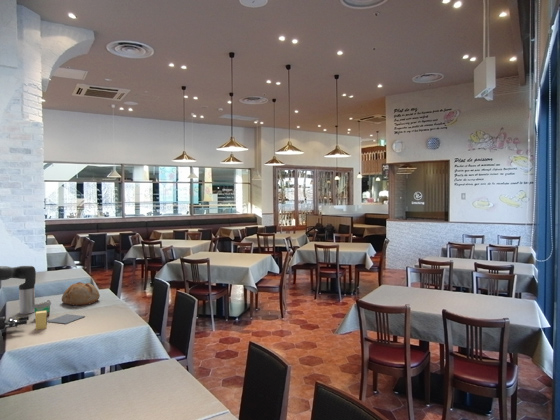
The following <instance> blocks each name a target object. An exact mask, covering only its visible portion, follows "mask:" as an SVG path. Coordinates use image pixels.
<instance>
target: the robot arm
mask: <svg viewBox="0 0 560 420" xmlns="http://www.w3.org/2000/svg"><path fill="white" fill-rule="evenodd" d="M36 272H37V271H36V268H35V267H34V266H33V265H20V266H14V267H11V266H7V265H6V266H5V265H1V266H0V281H7V280H9V279H18V280H24V282H23V283H21V284H19V286H18V294H19V295H18V296H19V298H18V302H19V303H18V304H19V314H20V315H28V314H32V313H35V309H34V304H36V296H35V294H36V291H35V290H36V289H35V285H36V278H37V277H36V274H37V273H36ZM29 318H30V317H29V316H13V317H9V318H8V319H7V318H6V317H5V316H0V331H3V330H5V329H8V328H9V329H10V328H17V327H18V326H22V325H27V324H28V321H29Z"/></svg>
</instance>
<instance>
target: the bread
mask: <svg viewBox="0 0 560 420" xmlns="http://www.w3.org/2000/svg"><path fill="white" fill-rule="evenodd" d="M100 296H101V295H100V292H99V290H98V288H97V287H96V286H95V285H93V283H89V282H88V283H87V282H86V283H83V282H80V281H79V282H76V283H72V284H71V285H70V286H68V287H67V289H65V291H64V292H63V294H62V296H61V301H62V303H63V304H64V305H72V306H86V305H91V304H94V303H96V302H97V301H99V299H100Z"/></svg>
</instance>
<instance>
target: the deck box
mask: <svg viewBox="0 0 560 420" xmlns="http://www.w3.org/2000/svg"><path fill="white" fill-rule="evenodd" d="M34 315H35V319H34V320H35V330H43V329H44V330H45V329H47V327H48V322H47V321H48V317H47V310H46V311H38V312H36V313H35V312H34Z"/></svg>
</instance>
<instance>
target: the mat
mask: <svg viewBox="0 0 560 420" xmlns="http://www.w3.org/2000/svg"><path fill="white" fill-rule="evenodd" d="M85 317H86V315H78V314H71V313H70V314H69V313H68V314H67V313H66V314H63V315H60V316H58V317H55V318H52V319H49V320H48V319H47V323H50V322H52V323H51V324H59V323H61V325H68V324H70V323H72V322H76V321H77V320H78V321H79V320H81V319H84V318H85Z"/></svg>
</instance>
